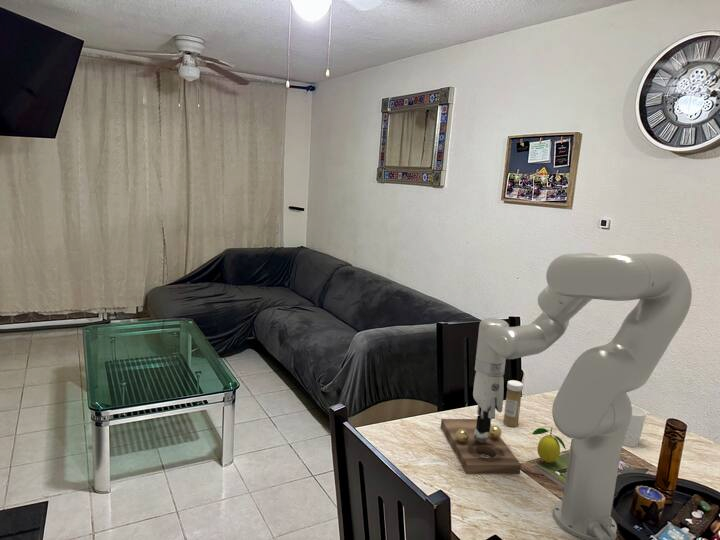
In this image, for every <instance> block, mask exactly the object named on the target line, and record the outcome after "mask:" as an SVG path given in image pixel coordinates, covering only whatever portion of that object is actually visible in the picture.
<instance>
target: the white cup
mask: <svg viewBox="0 0 720 540" xmlns="http://www.w3.org/2000/svg"><path fill="white" fill-rule="evenodd" d="M631 405H632V416H631V421H630V424H629V427H628V430H627V433H626V435H625V438H624V442H623V446H625V447H631V448H635V447H638V445H639V444H640V443H639V442H640V439H641V437H642V433H643V429H644V425H645V419H646V416H647V412H646V411H645V410H644V409H643V408H641V407H639V406H638V405H637V406H636V405H633V404H631Z"/></svg>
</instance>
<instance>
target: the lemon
mask: <svg viewBox="0 0 720 540" xmlns="http://www.w3.org/2000/svg"><path fill="white" fill-rule="evenodd" d="M552 431H553V427H551V428H550V430H548V429H546V428H543V427H539V428H537V429H535V430H534V431H533V432H532V434H531V435H541V434H542V435H543V434H546V433H550V434H549V435H545V436H543V437H542V438H540V440H539V441H538V444H537V455H538V456H539V457H540V459H542V460H543V461H544V462H545V463H547V464H549V463H554V462H556V461H557V460H558V459H559V457H560V453H561V446H562V447H563V448H564V450H566V448H567V447H566V444H565V443H564V441H563V440H562V439H561V437H559V436H556V435H554V434H553V433H552ZM560 444H561V446H560Z"/></svg>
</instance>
